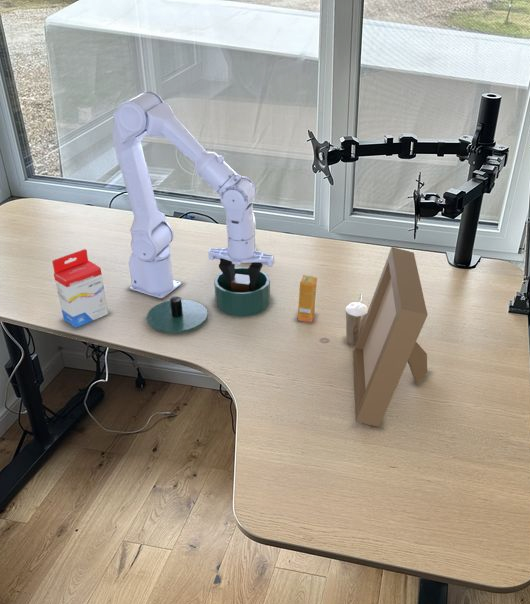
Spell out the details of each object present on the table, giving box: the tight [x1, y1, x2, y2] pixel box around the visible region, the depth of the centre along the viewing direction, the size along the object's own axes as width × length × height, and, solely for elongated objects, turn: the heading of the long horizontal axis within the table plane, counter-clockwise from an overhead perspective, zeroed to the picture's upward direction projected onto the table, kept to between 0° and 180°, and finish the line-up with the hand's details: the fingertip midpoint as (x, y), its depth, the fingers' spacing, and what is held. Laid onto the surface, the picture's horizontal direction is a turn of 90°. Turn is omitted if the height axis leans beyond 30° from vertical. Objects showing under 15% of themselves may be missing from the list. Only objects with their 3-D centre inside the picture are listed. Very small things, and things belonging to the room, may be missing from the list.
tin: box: [213, 266, 271, 318], centre depth 150 cm, size 12×12×6 cm
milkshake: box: [345, 293, 369, 346], centre depth 137 cm, size 4×5×10 cm
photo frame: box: [352, 246, 428, 428], centre depth 120 cm, size 15×22×25 cm
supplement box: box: [297, 274, 318, 323], centre depth 144 cm, size 3×3×10 cm
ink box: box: [52, 248, 109, 329], centre depth 141 cm, size 8×5×15 cm, turn 137°
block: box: [231, 274, 250, 293], centre depth 150 cm, size 4×4×4 cm
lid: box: [146, 296, 209, 334], centre depth 144 cm, size 13×13×5 cm
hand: (242, 289), depth 150 cm, fingers closed on block, 4 cm apart
